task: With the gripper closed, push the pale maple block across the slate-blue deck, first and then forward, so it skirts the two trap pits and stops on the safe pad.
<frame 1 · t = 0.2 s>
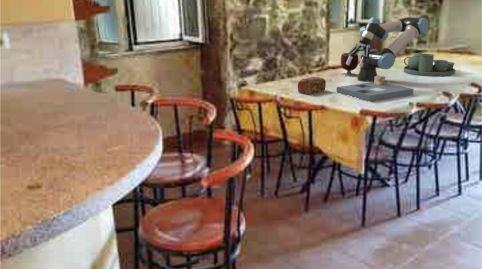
hand: (353, 65, 338), 15 cm above the table, tool tilted 30°, fingers open, 13 cm apart
maple block: (379, 83, 332), point 4 cm above the table, touching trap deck
mate gourd: (349, 75, 388), on the table
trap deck: (374, 93, 320), on the table
tea set: (428, 72, 395), on the table
bread: (311, 92, 329), on the table
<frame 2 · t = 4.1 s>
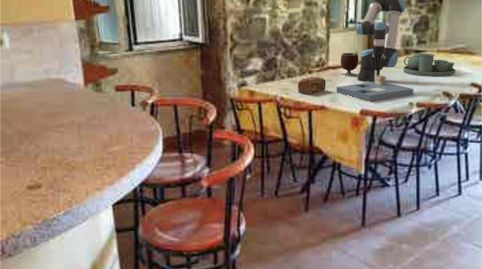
hand: (376, 79, 333), 7 cm above the table, tool pointing down, fingers closed
maple block: (379, 83, 331), point 4 cm above the table, touching gripper
everything else where it was.
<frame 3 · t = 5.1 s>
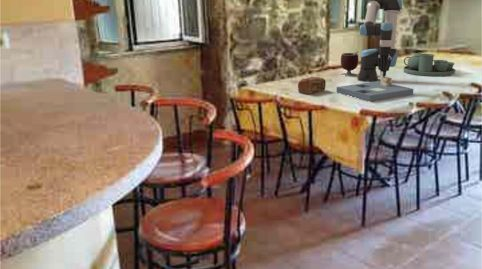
hand: (382, 80, 328), 7 cm above the table, tool pointing down, fingers closed
maple block: (386, 85, 326), point 4 cm above the table, touching gripper
everything else where it was.
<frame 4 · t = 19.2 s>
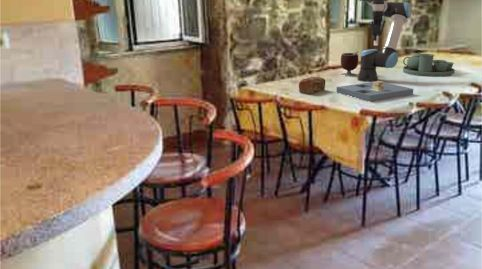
hand: (375, 45, 333), 29 cm above the table, tool pointing down, fingers closed
maple block: (377, 89, 314), point 4 cm above the table, touching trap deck
at the end: maple block inside the target area (0.6 cm from its centre), point 4.0 cm above the table; maple block tilted 0° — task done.
